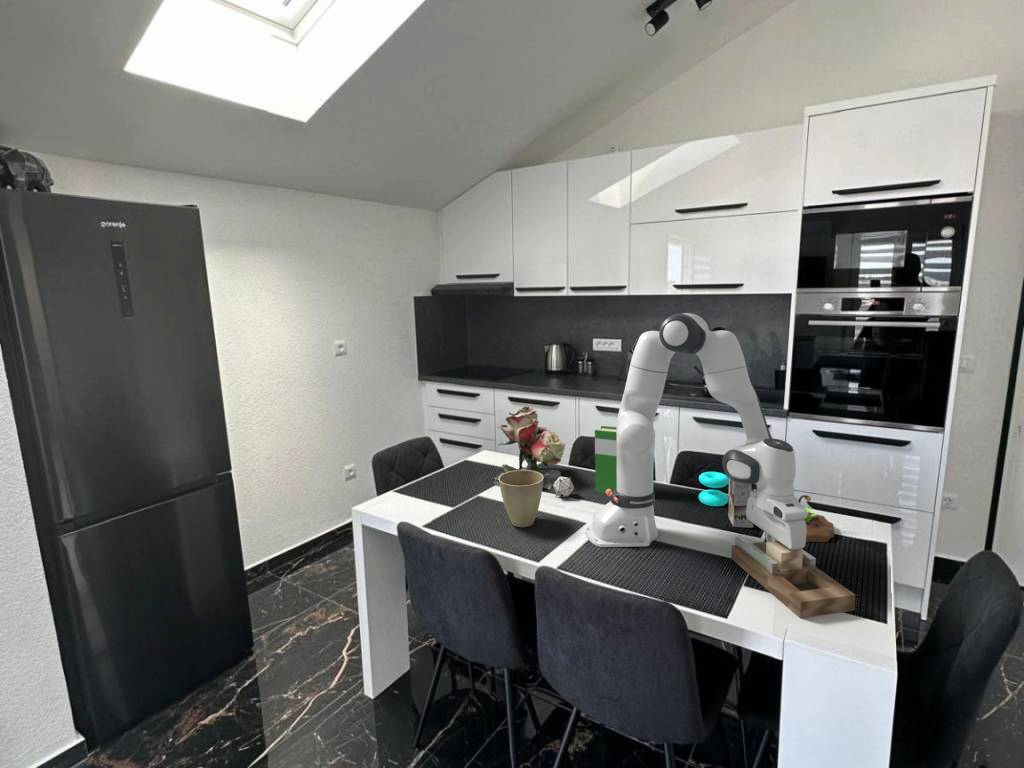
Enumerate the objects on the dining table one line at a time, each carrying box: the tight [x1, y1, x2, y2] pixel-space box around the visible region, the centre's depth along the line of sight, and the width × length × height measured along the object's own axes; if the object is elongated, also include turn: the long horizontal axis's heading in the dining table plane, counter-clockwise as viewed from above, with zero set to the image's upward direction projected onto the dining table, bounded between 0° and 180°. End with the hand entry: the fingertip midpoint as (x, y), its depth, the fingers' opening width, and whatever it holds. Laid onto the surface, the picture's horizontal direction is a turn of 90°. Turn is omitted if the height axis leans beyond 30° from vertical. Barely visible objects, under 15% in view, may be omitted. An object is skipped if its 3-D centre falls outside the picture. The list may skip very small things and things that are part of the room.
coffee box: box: [727, 477, 756, 529], centre depth 173 cm, size 9×6×16 cm
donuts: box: [698, 471, 729, 507], centre depth 190 cm, size 10×10×10 cm
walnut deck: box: [730, 541, 856, 619], centre depth 138 cm, size 14×28×4 cm, turn 9°
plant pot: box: [498, 470, 544, 528], centre depth 179 cm, size 15×15×16 cm
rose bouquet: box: [493, 405, 566, 490], centre depth 220 cm, size 26×29×30 cm
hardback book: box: [594, 425, 617, 494], centre depth 202 cm, size 18×7×24 cm, turn 61°
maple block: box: [766, 541, 804, 572], centre depth 139 cm, size 6×6×5 cm
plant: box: [797, 494, 835, 543], centre depth 168 cm, size 20×20×11 cm
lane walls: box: [734, 534, 817, 575], centre depth 143 cm, size 12×16×3 cm
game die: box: [550, 475, 577, 500], centre depth 201 cm, size 9×8×10 cm
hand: (772, 549), depth 144 cm, fingers closed
